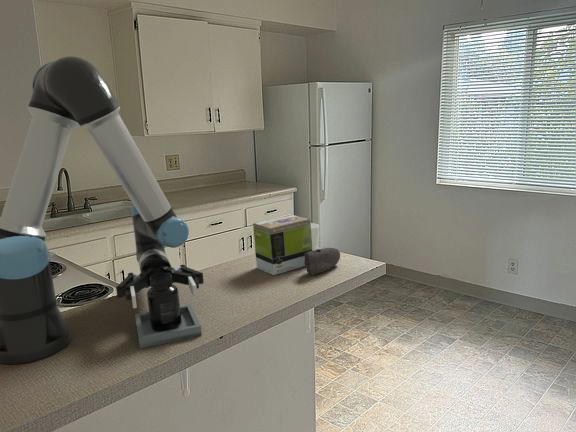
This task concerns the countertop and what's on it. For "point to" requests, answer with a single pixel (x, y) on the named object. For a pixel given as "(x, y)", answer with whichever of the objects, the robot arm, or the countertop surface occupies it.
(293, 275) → the countertop surface
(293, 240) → the tea box
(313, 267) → the perforated stone tool
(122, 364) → the countertop surface
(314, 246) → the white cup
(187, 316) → the tray
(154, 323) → the supplement bottle
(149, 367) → the countertop surface
